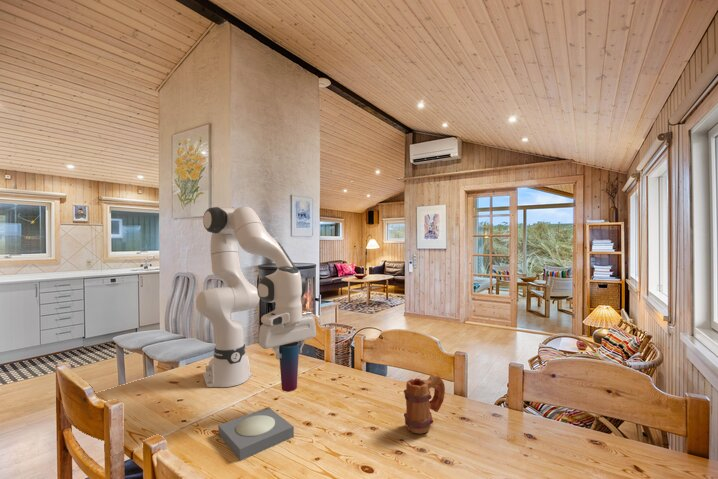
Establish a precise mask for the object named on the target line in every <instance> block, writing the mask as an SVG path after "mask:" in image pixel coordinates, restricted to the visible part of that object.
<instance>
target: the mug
mask: <svg viewBox="0 0 718 479" xmlns="http://www.w3.org/2000/svg"><path fill="white" fill-rule="evenodd" d="M445 387H446V386H445V384H444V381H443V379H442V377H440V376H439V375H437V374H436V373H432V374H430V376H428V378H427V379H426V380H425V379H421V378H415V379H414V378H411V379H410V380H409V379H408V381H406V389H404V390H403V393H404V399H405V400H406V401H405V403H406V404H405V407H406V412H404V413H403V417H404V424H405V425H406V428H407V430H408V431H409V432H410V431H411V432H412V433H415V434H425V433H427V432H429V431H430V429H431V427H432V425H433V423H434V420H433V415H432V412H431V410H432V411H433V412H435V413H438V411H439V410H440V409H441V407H442V404H443V402H444V399H445V393H446V388H445ZM431 388H432V389H434V392H433V397H432V395H431V390H430V389H431Z"/></svg>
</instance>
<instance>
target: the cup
mask: <svg viewBox="0 0 718 479" xmlns="http://www.w3.org/2000/svg"><path fill="white" fill-rule="evenodd" d="M278 351H279V352H280V353H282V358H281V359H279V368H280V380H281V381H280V382H281V390H282V391H283V392H292V391H293V392H294V391H295V390H297V389H298V373H299V355H300V354H299V342H294V343H289V344H285V345H281V346H279V349H278Z"/></svg>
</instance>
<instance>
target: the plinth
mask: <svg viewBox="0 0 718 479" xmlns="http://www.w3.org/2000/svg"><path fill="white" fill-rule="evenodd" d="M217 429H218V436H219V438H220V439H221V440H222V441H223V443H224V444H225V445H226V446H227V447H228V448H229V449H230V450H231V452H232V453H233V454H234V455H235V457H236V458H237V459H238V460H239V461H243V460H246V459H247V458H249V457H251V456H252V457H253V456H254V455H257V454H259V453H260V452H263V451H265V450H267V449H271V448H273V447H274V446H276V445H277V446H278V445H279V444H281V443H283V442H286V441H287V440H290V439H291V438H294V437H295V431H294V430H295V428H294V425H293V424H291V423H289V422H288V420H286V419H285V418H283V417H282V416H281V415H280V414H278V413H277V412H275V411H274V410H273V409H271V408H270V407H265V408H262V409H259V410H257V411H254V412H252V413H249V414H246V415H243V416H240V417H237V418H234V419H232V420H229V421H225V422H222V423H221V424H218V428H217Z"/></svg>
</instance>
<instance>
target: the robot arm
mask: <svg viewBox="0 0 718 479" xmlns="http://www.w3.org/2000/svg"><path fill="white" fill-rule="evenodd" d="M202 223H203V227H204V229H205V230H206V231H207V232H208V233H211V235H210V261H211V271H212V274H213V275H214V276H215V277H217V278H219V279H222V280H223V281H225V283H226V285H227V286H222V287H221V286H220V287H211V288H209V289H208V288H207V289H204V290H201V291H200V292H199V293H198V295H197V296H196V298H195V307H196V309H197V312H198V313H199V314H200V315H202V316H204V317H205V318H206V319H208V321H209V322H210V323H211V325H212V327H213V330H214V339H215V346H214V350H213V357H211V360H209V362H208V365H205V372H203V373H202V377H203V381H204V383H205V387H206V388H214V387H215V388H229V387H236V386H238V385H239V386H240V385H241V384H243V383H246V382H247V381H248V380H249V378H250V377H252V375H253V371H251V370H250V361H249V356H248V355H247V354H246V344H245V339H244V338H245V334H244V333H245V332H244V330H245V329H244V326H243V324H241V323H240V322H238V321H236V320H234V319H232V318H231V314H233V313H238V312H245V311H248V310H251V309H254V308H256V307H257V306H258V304H259V302H260V300H261V301H262V302H264V303H275V308H274V310H272V311H270V312H268V313H266V314H264V315H262V316H261V318H260V320H261V323H262V324H261V325H260V327H259V332H258V345H259V346H260V348H262V349H264V350H268V349H272V350H273V352H274V353H275V359H276V360H280V359H281V358H282V353H280V352H279V346H281V345H285V344H289V343H294V342H299V355H300V354H302V350H303V347H304V345H305V343H306V342H305V341H306V340H310V339H314V338H315V337H316V335H317V328H316V321H315V320H316V317H315V316H316V315H315V313H314V312H312V311H305V312H303V304H302V299H303V297H304V296H305V295H306V292H307V290H308V282H307V281H308V280H307V279H306V277H305V276H304V274H302V273H301V271H300V270H299V269H298V268H297V266H296V265H295V263H294V262H293V261H292V259H291V258H290V256H289V255H288V253H287V252H286V250H285V248H284V247H283V246H282V244H281V243H280V242H279V241H277V240H276V239H275V238H274V237H273V236H271V235H270V233H269V232H268V230H266V228H265V226H264V224H263V221H261V219H260V217H259V215H258V214H257V212H256V211H255V210H254V209H253V208H251V207H249V206H240V207H219V206H213V207H209V208H207V209H206V210H205V211H204V214H203V218H202ZM238 246H240V248H241V249H242V250H243V251H245V252H247V253H249V254H251V255H255V256H256V255H257V256H259V257H264V258H267V259H269V260H270V261H273V263H274V264H275V265H276V267H277V269H276V271H273V273H270V274H268V275H265V276H262V277H261V278H260V279H259V281H258V283H257V286H255V285H253V283H252V284H251V282H249V280H247V278H246V277H245V276H244V273H243V271H242V268H241V267H242V266H241V261H240V254H239V253H240V252H239V247H238Z"/></svg>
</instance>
